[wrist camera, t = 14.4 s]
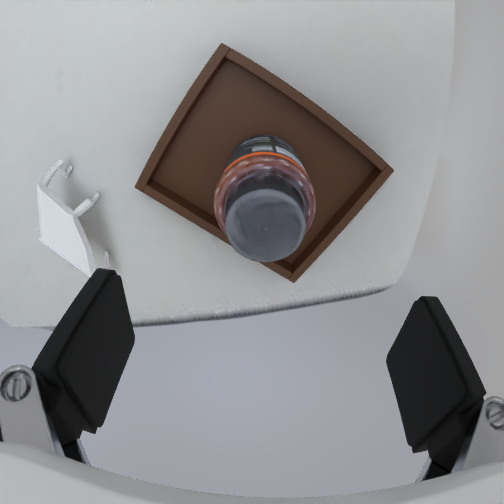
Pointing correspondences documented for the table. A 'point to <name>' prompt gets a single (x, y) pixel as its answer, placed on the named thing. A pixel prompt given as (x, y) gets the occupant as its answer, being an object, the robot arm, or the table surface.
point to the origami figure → (65, 225)
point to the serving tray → (252, 123)
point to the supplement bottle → (264, 199)
